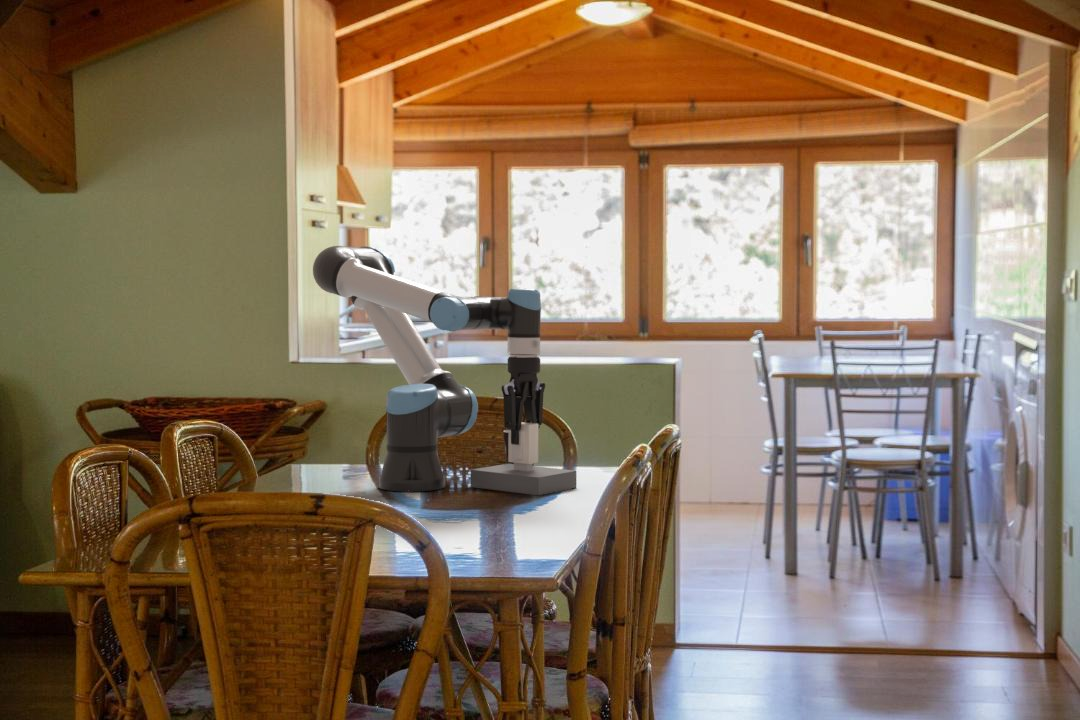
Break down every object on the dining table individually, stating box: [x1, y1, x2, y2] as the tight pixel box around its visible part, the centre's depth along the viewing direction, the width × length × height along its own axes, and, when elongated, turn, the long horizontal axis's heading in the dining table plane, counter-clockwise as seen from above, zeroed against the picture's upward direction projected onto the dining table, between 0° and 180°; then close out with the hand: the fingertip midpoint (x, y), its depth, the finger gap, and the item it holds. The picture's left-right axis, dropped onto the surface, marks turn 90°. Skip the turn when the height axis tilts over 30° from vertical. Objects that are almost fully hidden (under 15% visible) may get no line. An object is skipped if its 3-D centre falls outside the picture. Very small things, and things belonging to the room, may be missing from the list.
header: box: [470, 463, 577, 496], centre depth 299 cm, size 20×14×4 cm
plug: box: [508, 421, 539, 472], centre depth 299 cm, size 6×4×13 cm, turn 52°
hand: (523, 457), depth 299 cm, fingers closed on plug, 3 cm apart
